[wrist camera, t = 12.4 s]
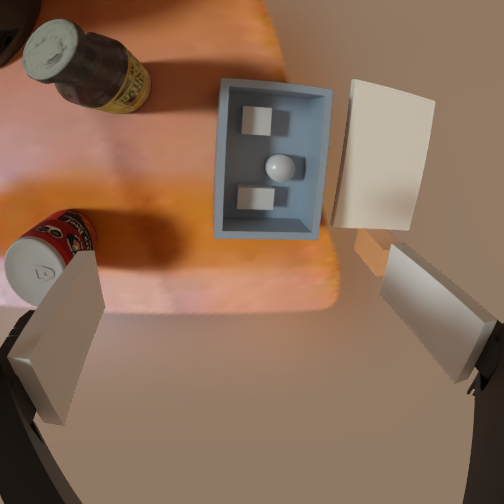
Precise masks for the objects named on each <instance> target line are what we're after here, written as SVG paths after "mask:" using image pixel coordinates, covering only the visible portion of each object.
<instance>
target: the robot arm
mask: <svg viewBox="0 0 504 504" xmlns="http://www.w3.org/2000/svg"><path fill="white" fill-rule="evenodd" d="M40 6H41V0H0V66H2V65H3V64H5V63H6V62H7V61H8V60H9V59H10V58H11V57H13V56H14V54H15V53H16V52H17V51H18V50H19V49H20V48H21V46H22V45H23V44H24V42H25V41H26V39H27V38H28V36H29V34H30V33H31V31H32V29H33V27H34V25H35V23H36V20H37V17H38V14H39V11H40ZM380 295H381V296H382V297H383V298H384V299H385V301H386V302H387V303H388V304H389V305H390V306H391V307H392V309H393V310H394V311H395V312H396V313H397V315H398V316H399V317H400V318H401V319H402V320H403V321H404V323H406V325H407V326H408V327H409V329H410V330H411V331H412V332H413V333H414V334H415V336H416V337H417V338H418V339H419V340H420V342H421V343H422V344H423V345H424V346H425V347H426V349H427V350H428V351H429V352H430V354H431V355H432V356H433V357H434V359H435V360H436V361H437V362H438V364H439V365H440V366H441V367H442V369H443V370H444V371H445V372H446V374H447V375H448V376H449V377H450V379H451V380H452V381H453V382H454V384H456V383H458V382H461V381H463V380H466V379H468V378H469V376H470V374H471V372H472V370H473V369H474V367H476V368H477V370H478V371H479V372H478V374H477V376H476V377H475V379H474V381H473V383H472V384H471V386H470V388H469V389H468V392H467V394H470V392H471V391H472V389H475V391H474V393H473V396H475V408H474V426H473V438H472V447H471V457H470V464H469V471H468V477H467V484H466V489H465V494H464V499H463V504H504V323H503V324H502V323H501V322H499V321H498V320H497V319H496V318H495V317H494V316H493V315H492V314H490V313H489V312H488V311H487V310H486V309H485V308H484V307H483V306H481V305H480V304H479V303H478V302H477V301H476V300H475V299H473V298H472V297H471V296H470V295H469V294H468V293H466V292H465V291H464V290H463V289H461V288H460V287H459V286H458V285H457V284H455V283H454V282H453V281H452V280H450V279H449V278H448V277H447V276H446V275H444V274H443V273H442V272H441V271H439V270H438V269H437V268H436V267H434V266H433V265H432V264H431V263H429V262H428V261H427V260H425V259H424V258H423V257H422V256H420V255H419V254H418V253H416V252H415V251H414V250H412V249H411V248H410V247H408V246H407V245H406V244H404V243H391V248H390V252H389V257H388V262H387V266H386V270H385V275H384V279H383V283H382V287H381V291H380ZM104 309H105V304H104V299H103V295H102V290H101V285H100V280H99V274H98V269H97V263H96V257H95V251H78V252H77V253H76V255H75V256H74V257H73V259H72V260H71V261H70V262H69V264H68V265H67V266H66V268H65V269H64V271H63V272H62V273H61V275H60V276H59V277H58V279H57V280H56V281H55V283H54V284H53V286H52V287H51V289H50V290H49V291H48V293H47V294H46V296H45V297H44V299H43V300H42V302H41V303H40V305H39V306H38V307H37V309H36V310H29V311H28V312H27V313H25V314H24V315H23V316H22V317H21V318H19V320H18V322H17V323H16V325H15V326H14V329H12V330H11V332H10V333H9V337H7V338H6V340H5V341H4V343H3V345H2V346H1V348H0V495H1V498H2V500H3V502H4V504H82V503H81V501H80V500H79V498H78V497H77V495H76V494H75V492H74V491H73V489H72V488H71V486H70V485H69V483H68V481H67V480H66V478H65V476H64V475H63V473H62V472H61V470H60V468H59V467H58V465H57V463H56V461H55V460H54V458H53V456H52V454H51V452H50V451H49V449H48V447H47V445H46V443H45V441H44V439H43V438H42V435H41V433H40V431H39V429H38V427H37V426H36V424H35V423H34V421H33V419H34V416H35V413H36V411H37V413H38V414H39V416H40V417H41V419H42V420H43V422H45V423H51V424H56V425H65V421H66V418H67V414H68V411H69V407H70V404H71V401H72V398H73V395H74V391H75V388H76V385H77V382H78V379H79V376H80V373H81V370H82V367H83V364H84V362H85V359H86V356H87V353H88V350H89V348H90V345H91V342H92V340H93V337H94V334H95V332H96V329H97V326H98V324H99V321H100V319H101V316H102V314H103V311H104Z"/></svg>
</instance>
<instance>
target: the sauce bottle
mask: <svg viewBox="0 0 504 504" xmlns="http://www.w3.org/2000/svg"><path fill="white" fill-rule="evenodd" d="M22 63H23V68H24V70H25V72H26V74H27V75H28V76H29V77H31V78H33V79H35V80H37V81H39V82H41V83H45V84H49V83H55V86H56V88H57V90H58V92H59V93H60V94H61V96H62V97H63V98H64V99H66V100H68V101H70V102H71V103H75V104H78V105H80V106H83V107H86V108H91V109H96V110H101V111H105V112H109V113H114V114H128V113H131V112H133V111H135V110H137V109H138V108H140V107H141V106H143V105H144V103H145V102H146V100H147V98H148V96H149V94H150V90H151V79H150V76H149V73H148V71H147V70H146V68H145V67H144V66H143V65H142V64H141V63H140V62H139V61H138V60H137V59H136V58H135V57H134V56H133V55H132V53H131V52H130V51H128V50H127V48H126V47H125V46H124V45H123V44H122V43H120V42H119V41H117V40H114V39H111V38H109V37H106V36H103V35H100V34H96V33H93V32H88V33H87V34H84V32H83V30H82V29H81V28H80V27H79V26H78V25H76V24H75V23H73V22H71V21H69V20H66V19H54V20H51V21H48V22H46V23H44V24H43V25H41V26H40V27H39V28H38V29H37V30H36V31H35V32H34V33H33V34H32V35H31V37H30V38H29V39H28V41H27V43H26V45H25V48H24V51H23V62H22Z"/></svg>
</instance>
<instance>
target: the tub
mask: <svg viewBox="0 0 504 504" xmlns="http://www.w3.org/2000/svg"><path fill="white" fill-rule="evenodd" d="M332 99H333V90H331V89H326V88H320V87H313V86H306V85H299V84H291V83H282V82H273V81H262V80H249V79H233V78H221V81H220V84H219V96H218V113H217V132H216V153H215V177H214V207H213V227H214V239H288V240H318V235H319V228H320V220H321V212H322V204H323V195H324V186H325V177H326V167H327V158H328V147H329V137H330V124H331V112H332Z"/></svg>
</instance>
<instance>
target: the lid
mask: <svg viewBox="0 0 504 504" xmlns="http://www.w3.org/2000/svg"><path fill="white" fill-rule="evenodd" d="M434 109H435V101H432V100H430V99H427V98H424V97H420V96H417V95H414V94H411V93H407V92H404V91H400V90H396V89H392V88H389V87H385V86H382V85H377V84H373V83H370V82H365V81H361V80H356V79H352V82H351V91H350V99H349V108H348V116H347V124H346V131H345V139H344V145H343V152H342V159H341V166H340V172H339V178H338V184H337V190H336V196H335V201H334V207H333V213H332V218H331V225H332V226H333V227H340V228H358V232H357V237H356V241H355V245H354V249H355V251H356V252H357V253H358V254H359V256H360V257H361V258H362V259H363V261H364V262H365V263H366V264H367V266H368V267H369V268H370V269H371V271H372V272H373V273H374V275H375V276H384V275H385V270H386V266H387V262H388V257H389V252H390V248H391V243H399V242H398V241H397V240H396V239H395V238H394V237H393V236H392V235H391V234H390V233H388V232H387V231H386V230H405V231H409V229H410V225H411V221H412V218H413V214H414V210H415V206H416V202H417V198H418V194H419V190H420V185H421V181H422V176H423V172H424V166H425V162H426V156H427V151H428V146H429V140H430V135H431V128H432V122H433V115H434Z"/></svg>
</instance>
